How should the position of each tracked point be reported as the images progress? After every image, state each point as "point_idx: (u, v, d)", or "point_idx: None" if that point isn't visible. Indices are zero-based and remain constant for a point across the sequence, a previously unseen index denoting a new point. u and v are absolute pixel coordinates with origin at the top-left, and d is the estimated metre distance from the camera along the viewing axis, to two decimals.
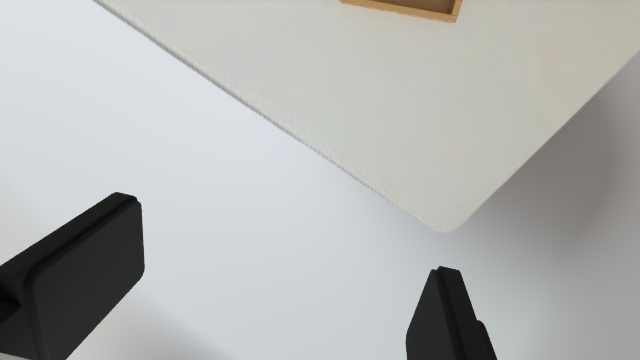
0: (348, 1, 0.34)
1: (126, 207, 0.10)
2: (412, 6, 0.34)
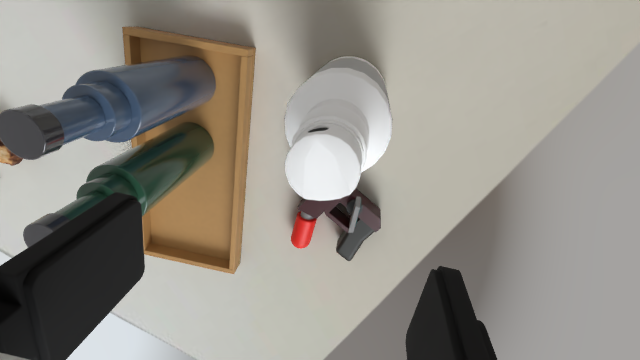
0: (147, 254, 0.40)
1: (126, 207, 0.10)
2: (204, 253, 0.41)
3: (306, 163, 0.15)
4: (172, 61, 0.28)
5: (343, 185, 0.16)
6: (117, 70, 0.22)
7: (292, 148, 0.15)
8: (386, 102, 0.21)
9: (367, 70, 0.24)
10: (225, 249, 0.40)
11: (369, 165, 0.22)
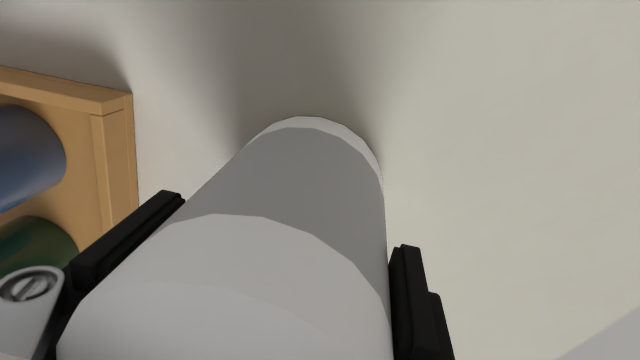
0: None
1: (174, 204, 0.11)
2: None
3: None
4: None
5: None
6: None
7: None
8: None
9: (332, 189, 0.09)
10: None
11: None
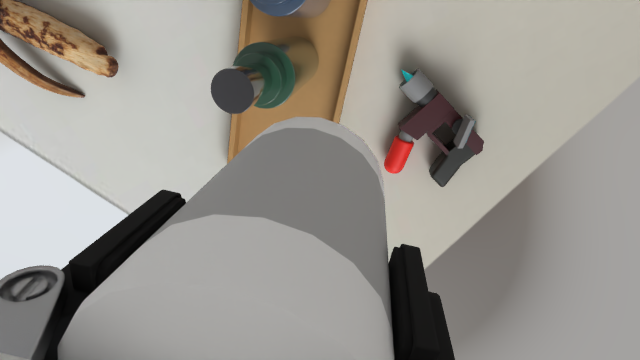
0: None
1: (174, 204, 0.11)
2: None
3: None
4: None
5: None
6: None
7: None
8: None
9: (332, 190, 0.09)
10: None
11: None
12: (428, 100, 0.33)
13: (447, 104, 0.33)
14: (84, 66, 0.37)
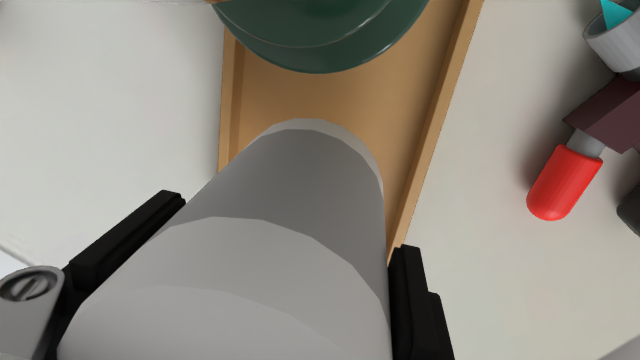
0: None
1: (174, 204, 0.11)
2: None
3: None
4: None
5: None
6: None
7: None
8: None
9: (331, 191, 0.09)
10: None
11: None
12: None
13: None
14: None
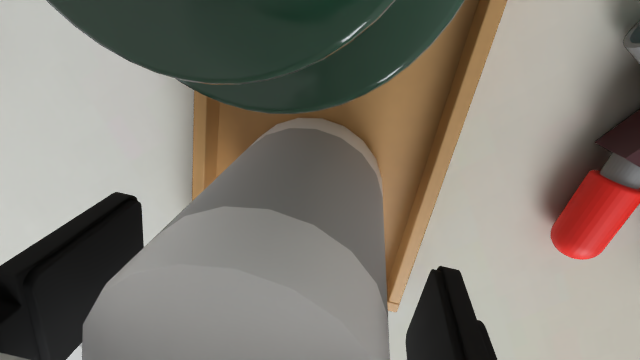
0: None
1: (126, 207, 0.10)
2: None
3: None
4: None
5: None
6: None
7: None
8: (372, 351, 0.07)
9: (333, 185, 0.10)
10: None
11: None
12: None
13: None
14: None
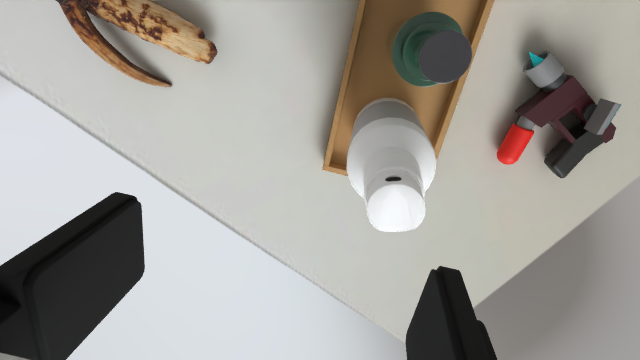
0: (330, 170, 0.38)
1: (126, 207, 0.10)
2: None
3: (383, 204, 0.20)
4: None
5: (410, 221, 0.21)
6: None
7: (374, 193, 0.20)
8: (433, 149, 0.26)
9: (412, 117, 0.29)
10: None
11: None
12: (559, 84, 0.31)
13: (580, 88, 0.31)
14: (182, 52, 0.34)
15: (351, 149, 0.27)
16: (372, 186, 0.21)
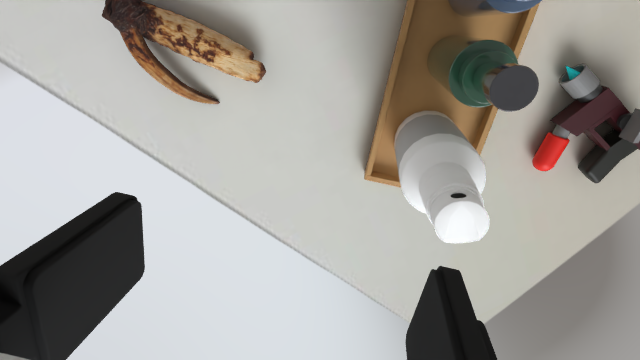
0: (372, 180, 0.40)
1: (126, 207, 0.10)
2: None
3: (450, 218, 0.22)
4: None
5: (474, 234, 0.23)
6: None
7: (442, 209, 0.22)
8: (483, 163, 0.28)
9: (458, 131, 0.31)
10: None
11: None
12: (595, 95, 0.33)
13: (615, 99, 0.33)
14: (233, 72, 0.37)
15: (406, 164, 0.29)
16: (437, 202, 0.23)
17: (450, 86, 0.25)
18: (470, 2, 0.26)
